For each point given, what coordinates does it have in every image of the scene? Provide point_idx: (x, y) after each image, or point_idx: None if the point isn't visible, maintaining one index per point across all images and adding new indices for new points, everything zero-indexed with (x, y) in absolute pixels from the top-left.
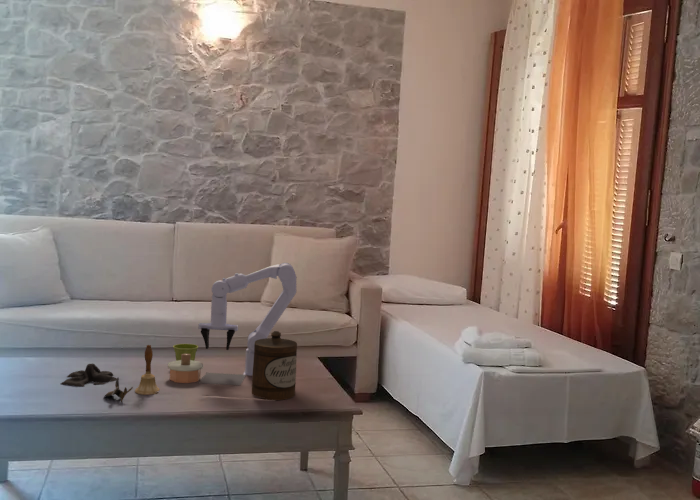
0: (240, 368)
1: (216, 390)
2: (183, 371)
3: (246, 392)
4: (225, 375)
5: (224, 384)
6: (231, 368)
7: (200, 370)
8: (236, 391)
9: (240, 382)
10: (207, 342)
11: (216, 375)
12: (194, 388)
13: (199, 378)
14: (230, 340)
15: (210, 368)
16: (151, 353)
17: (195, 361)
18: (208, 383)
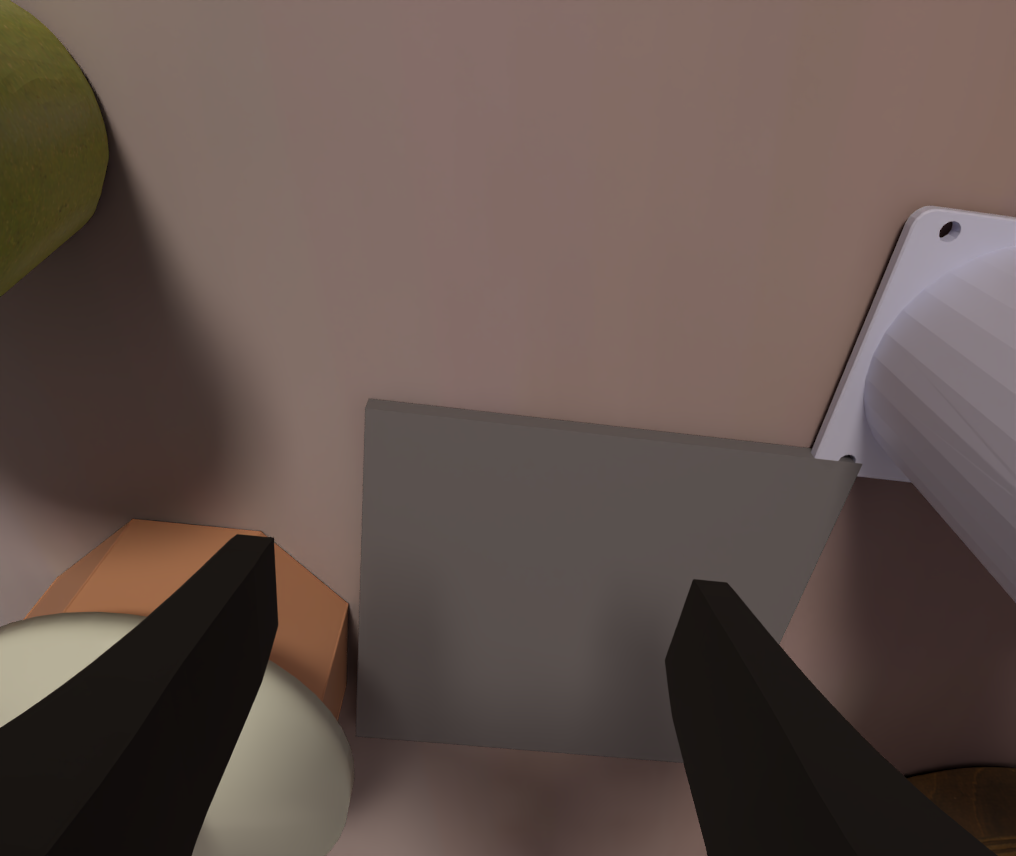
0: (871, 14)
1: (527, 817)
2: None
3: None
4: (605, 509)
5: (589, 753)
6: (716, 31)
7: (326, 688)
8: (676, 826)
9: None
10: (223, 746)
11: (502, 516)
12: (354, 791)
13: (342, 650)
14: (831, 748)
15: (371, 69)
16: None
17: None
18: (450, 739)
